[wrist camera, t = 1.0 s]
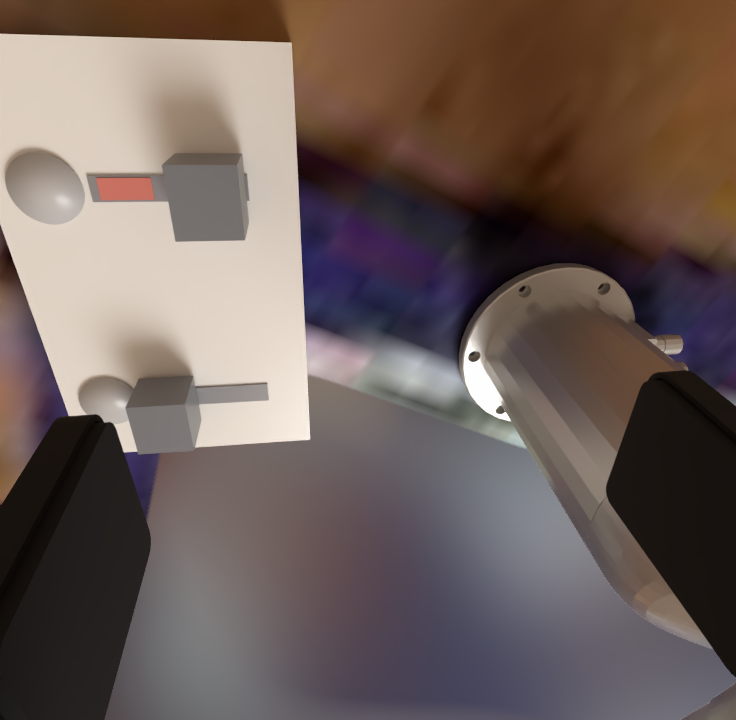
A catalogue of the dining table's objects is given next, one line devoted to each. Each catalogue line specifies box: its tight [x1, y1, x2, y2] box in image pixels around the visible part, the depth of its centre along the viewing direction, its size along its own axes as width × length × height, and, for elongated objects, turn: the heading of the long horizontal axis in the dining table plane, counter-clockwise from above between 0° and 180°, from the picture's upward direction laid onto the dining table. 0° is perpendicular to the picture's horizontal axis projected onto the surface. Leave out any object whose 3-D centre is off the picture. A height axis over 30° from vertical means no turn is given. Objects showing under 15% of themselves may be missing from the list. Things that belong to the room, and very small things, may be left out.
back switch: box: [125, 376, 202, 454], centre depth 28 cm, size 3×3×3 cm
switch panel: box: [0, 34, 310, 452], centre depth 28 cm, size 14×22×4 cm, turn 178°
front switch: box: [162, 153, 249, 242], centre depth 23 cm, size 3×3×3 cm
